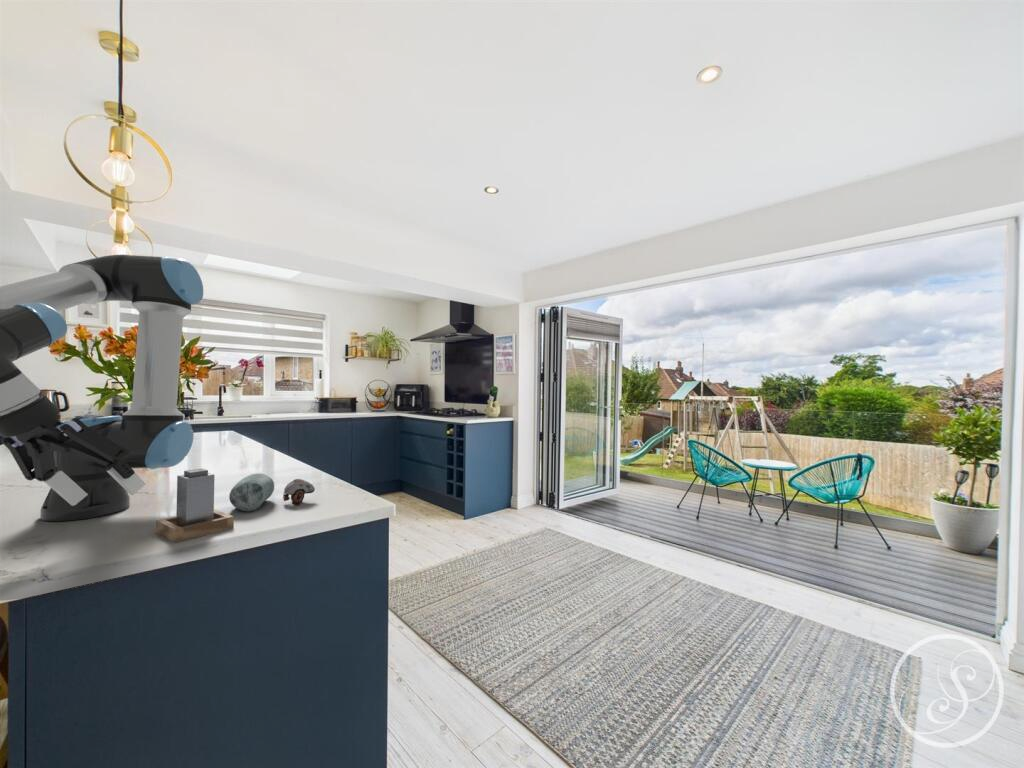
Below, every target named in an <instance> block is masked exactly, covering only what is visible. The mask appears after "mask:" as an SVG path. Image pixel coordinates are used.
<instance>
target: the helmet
mask: <svg viewBox="0 0 1024 768" xmlns="http://www.w3.org/2000/svg"><path fill="white" fill-rule="evenodd" d="M315 490H316V488H315V485H313V484H312V483H311V482H310V481H308V480H305V479H300V478H297V479H295V478H294V479H293V481H290V482H289V483H287V485H286V486H285V487H284V489H283V495H282V500H283V501H284V502H286V501H290V500H291V501H292V502H291V503H292V504H293V505H294V506H299V505H301V504H302V503H303V501H304V499H305V495H306V494H313V493H314V492H315Z"/></svg>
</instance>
